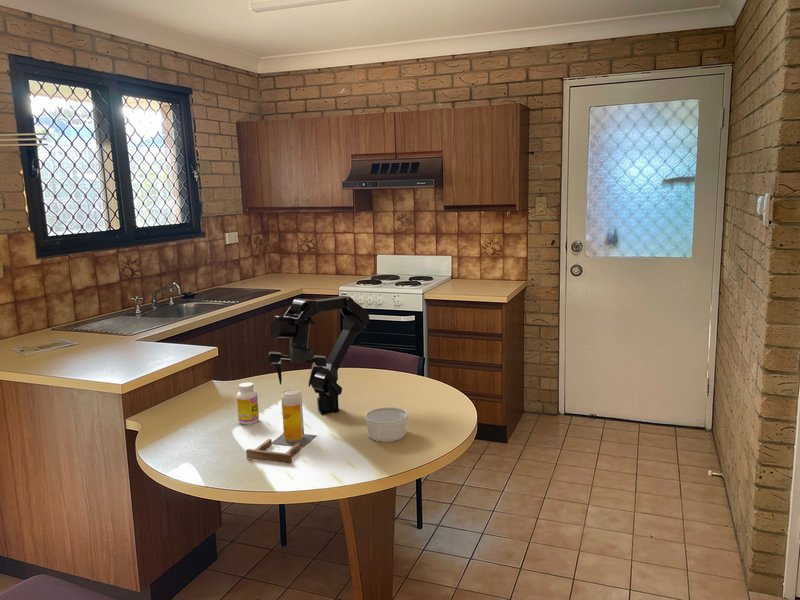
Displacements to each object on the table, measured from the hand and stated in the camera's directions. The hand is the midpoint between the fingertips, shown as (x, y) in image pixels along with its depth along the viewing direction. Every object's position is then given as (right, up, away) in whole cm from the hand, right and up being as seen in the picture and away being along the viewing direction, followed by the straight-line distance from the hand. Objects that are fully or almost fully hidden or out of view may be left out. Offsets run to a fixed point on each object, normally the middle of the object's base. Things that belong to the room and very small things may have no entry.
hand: (294, 385), depth 206 cm
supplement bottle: (-16, -13, +5) cm, 21 cm away
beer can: (+2, -15, -11) cm, 19 cm away
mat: (+2, -15, -12) cm, 19 cm away
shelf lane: (-1, -17, -21) cm, 27 cm away
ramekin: (+30, -14, -10) cm, 35 cm away
